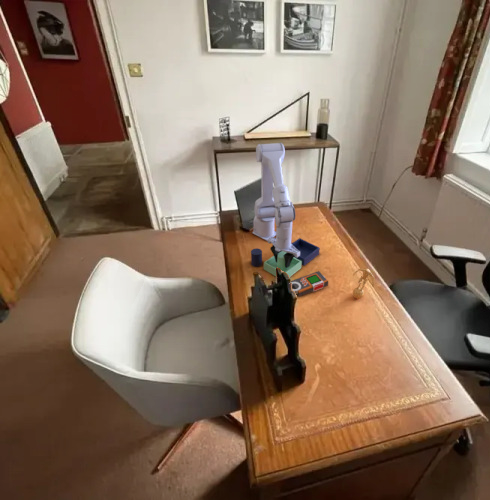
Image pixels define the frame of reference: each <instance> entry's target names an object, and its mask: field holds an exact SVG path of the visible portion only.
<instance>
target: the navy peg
mask: <svg viewBox="0 0 490 500" xmlns="http://www.w3.org/2000/svg"><path fill="white" fill-rule="evenodd" d="M250 264H251V266H252V267H256V268H259V267H261V266H262V265H263V250H262V249H260V248H258V247H257V248H253V249H251V250H250Z"/></svg>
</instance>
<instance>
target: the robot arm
mask: <svg viewBox="0 0 490 500" xmlns="http://www.w3.org/2000/svg"><path fill="white" fill-rule="evenodd" d="M255 156H256V157H255V160H256V162H257V163H260V166H261V169H260V171H261V173H260V175H261V176H260V177H261V182H260V183H261V184H260V185H261V187H260V189H261V191H260V192H261V193H260V194H261V196H260V197H259V198H258V199H256V200H255V202H254V207H253V208H254V209H253V210H254V217H253V219H252V220H253V221H252V222H253V224H252V225H253V227H252V228H253V231H252V234H254V235H255V236H257V237H258V238H260V239H263V240H264V241H267V244H271V247H269V249H270V251H271V253H272V254H273V255H272V256H274V257H275V261H276V262H277V256H278V253H280V252H282V251H283V252H287V253H286V254H284V255H283V256H284V259H285V267H286V268H288V267H289V266H290V264H291V261H292V259H293V257H294V256H295V257H296V258H297V257H299V256H300V251H298V250H297V249H296V248H295V247H294V246H293V245H292V236H293V235H292V234H293V221H295V220H296V216H297V215H296V209H295V206H294V204H293V202H292V201H291V197H290V191H289V188H288V186H287V185H286V184H285V183H284V175H283V169H282V164H283V163H284V159H285V156H286V149H285V145H284V143H283V142H276V143H275V142H273V143H258V144H257V145H256V147H255ZM275 225H276V229H275ZM275 230H276V231H275Z"/></svg>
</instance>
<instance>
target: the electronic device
mask: <svg viewBox="0 0 490 500" xmlns="http://www.w3.org/2000/svg"><path fill="white" fill-rule="evenodd" d="M290 283H292V289H293V291H295V293H296V294H295V295H297V296H298V297H303V296H305V295H307V294H310V293H313V292H317V291H319V290H322V289H324V288H326V287H328V286H329V280H328V279H327V278H326V277H325V276H324V275H323V274H322V273H321V271H319V270H318V271H314V272H312V273H310V274H307V275H303V276H300V277H298V278H295V279H294V280H290Z"/></svg>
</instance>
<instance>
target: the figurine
mask: <svg viewBox="0 0 490 500" xmlns="http://www.w3.org/2000/svg"><path fill="white" fill-rule="evenodd" d="M359 271H361V272H362V275H360V277H359V279H358V280H357V283H358V285H357V287H355V288H354V289H353V290H352V296H353V297H354V298H355V299H357V300H360V299H362V298H364V294H365V292H364V290H363V289H364V287H365V285H366V284H367V282H368V277H369V276H370V277H371V278H372V284H371V287H374V286H375V276H374V275H373V273H372V272H371V270H370V269H369V268H358V269H357V270H356V271H354V273H353V274H352V276H355V274H357V273H358V272H359ZM361 282H362V283H361ZM361 285H362V286H361ZM360 286H361V287H360Z"/></svg>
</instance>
